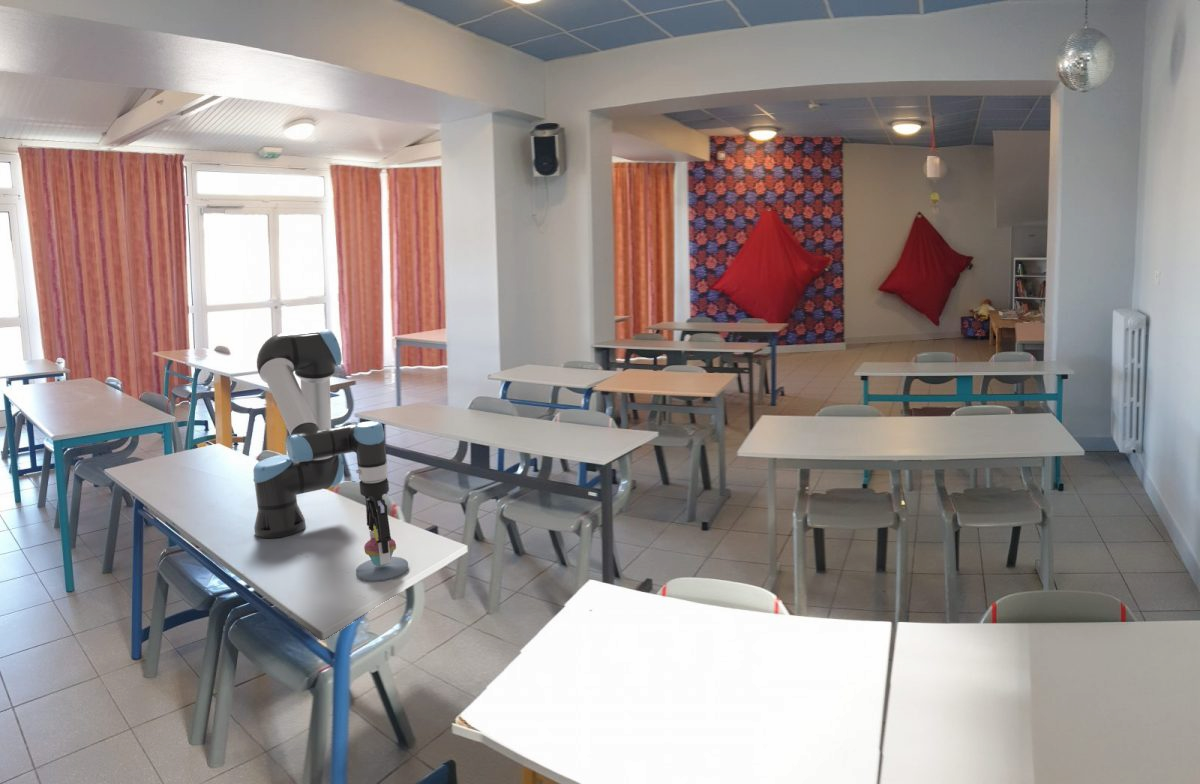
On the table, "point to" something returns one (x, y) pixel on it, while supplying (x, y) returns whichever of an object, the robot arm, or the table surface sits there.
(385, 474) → the robot arm
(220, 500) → the table surface
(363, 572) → the slate plate
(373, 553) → the cupcake
